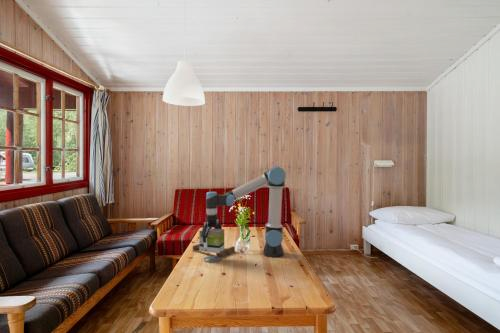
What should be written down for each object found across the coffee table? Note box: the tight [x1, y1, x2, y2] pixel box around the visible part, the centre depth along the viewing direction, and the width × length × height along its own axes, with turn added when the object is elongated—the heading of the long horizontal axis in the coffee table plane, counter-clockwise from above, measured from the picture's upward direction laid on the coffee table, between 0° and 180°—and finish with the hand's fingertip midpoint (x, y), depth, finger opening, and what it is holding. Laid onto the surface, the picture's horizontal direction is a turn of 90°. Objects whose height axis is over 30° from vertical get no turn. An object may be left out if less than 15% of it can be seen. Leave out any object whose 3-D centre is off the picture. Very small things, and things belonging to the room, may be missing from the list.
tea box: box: [198, 227, 225, 254], centre depth 217 cm, size 15×10×15 cm
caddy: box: [192, 243, 236, 258], centre depth 236 cm, size 18×27×4 cm, turn 51°
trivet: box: [203, 255, 222, 263], centre depth 217 cm, size 12×12×1 cm
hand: (212, 245), depth 217 cm, fingers closed on tea box, 12 cm apart
